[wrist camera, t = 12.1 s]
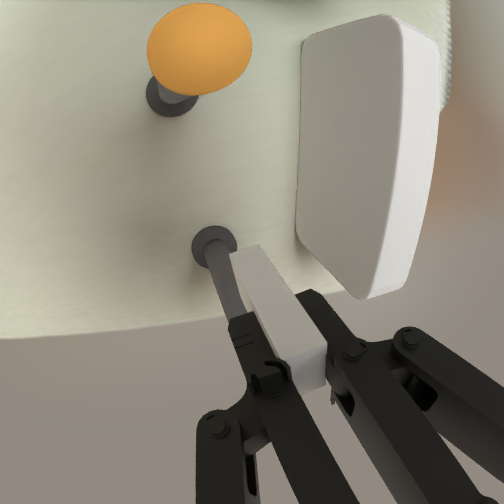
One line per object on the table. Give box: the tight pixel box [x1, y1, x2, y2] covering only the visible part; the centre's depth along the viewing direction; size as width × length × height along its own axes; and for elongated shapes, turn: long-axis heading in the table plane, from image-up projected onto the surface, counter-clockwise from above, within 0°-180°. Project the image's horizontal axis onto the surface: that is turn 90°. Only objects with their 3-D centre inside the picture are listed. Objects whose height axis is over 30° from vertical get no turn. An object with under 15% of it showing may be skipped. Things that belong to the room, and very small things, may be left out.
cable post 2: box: [192, 226, 248, 323], centre depth 29 cm, size 6×6×24 cm
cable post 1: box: [146, 3, 252, 116], centre depth 18 cm, size 6×6×24 cm
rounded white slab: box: [295, 14, 440, 301], centre depth 29 cm, size 29×8×18 cm, turn 0°
